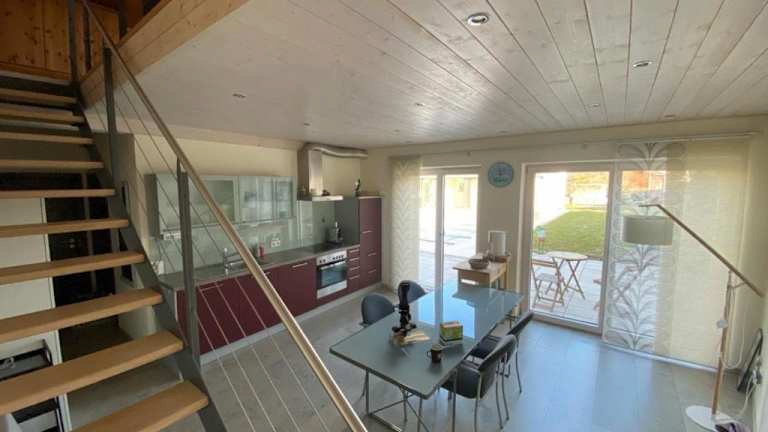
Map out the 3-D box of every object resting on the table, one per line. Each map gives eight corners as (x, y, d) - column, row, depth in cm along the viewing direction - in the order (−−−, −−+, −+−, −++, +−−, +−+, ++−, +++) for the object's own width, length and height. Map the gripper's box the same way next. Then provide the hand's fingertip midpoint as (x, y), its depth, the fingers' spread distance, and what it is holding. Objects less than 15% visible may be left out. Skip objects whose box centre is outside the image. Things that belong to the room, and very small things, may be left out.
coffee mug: (441, 357, 227) (441, 343, 226) (443, 364, 218) (444, 349, 217) (424, 357, 226) (424, 343, 225) (426, 364, 218) (426, 350, 217)
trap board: (389, 339, 253) (389, 333, 253) (421, 332, 264) (421, 326, 263) (397, 348, 239) (397, 341, 239) (430, 340, 250) (430, 334, 249)
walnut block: (393, 339, 249) (393, 333, 248) (400, 338, 251) (400, 332, 251) (396, 343, 243) (396, 337, 243) (403, 341, 246) (403, 335, 245)
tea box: (444, 347, 241) (445, 328, 239) (439, 340, 250) (439, 322, 249) (463, 344, 245) (463, 325, 243) (456, 337, 254) (456, 319, 253)
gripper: (397, 325, 237) (398, 345, 238) (419, 320, 244) (420, 340, 245) (391, 319, 247) (391, 338, 249) (413, 314, 254) (413, 333, 256)
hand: (404, 338), depth 249 cm, fingers closed
